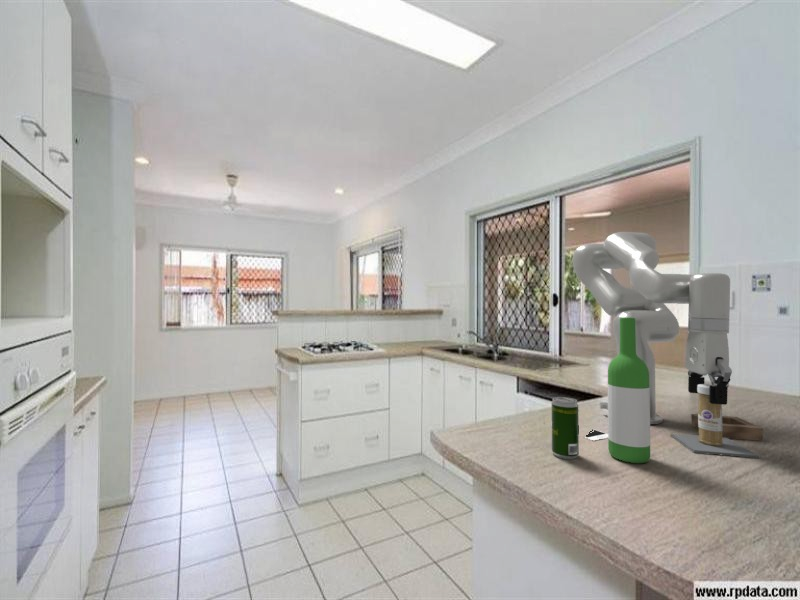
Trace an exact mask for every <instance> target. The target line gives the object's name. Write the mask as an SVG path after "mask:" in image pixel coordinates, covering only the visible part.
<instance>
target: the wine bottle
mask: <svg viewBox="0 0 800 600" xmlns="http://www.w3.org/2000/svg"><path fill="white" fill-rule="evenodd" d="M607 403H608V410H607V434H608V439H607V441H608V442H607V443H608V446H607V447H608V452H609V454H610V456H611V457H612V458H614V459H616V460H618V459H619V461H621V460H622V461H621V462H625V463H629V462H631V463H630V464H644V463H645V464H646V463H647V462H649V461H650V459H651V424H650V387H649V370H648V368H647V366H646V364H645V363H644V361H643V360H642V359H640V358H639V357H638V356H637V355H636V332H635V318H620V353H619V355H618V356H617V355H616V356H615V357H613V359H611V361H610V362H609V365H608V368H607Z"/></svg>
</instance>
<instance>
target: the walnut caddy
mask: <svg viewBox="0 0 800 600" xmlns="http://www.w3.org/2000/svg"><path fill="white" fill-rule="evenodd" d="M690 415H691V416H690V417H691V426H693V427H694V428H696V429H698V430H699V427H698V413H691V414H690ZM763 436H764V434H763V428H762V427H760V426H758V425H756V424H754V423H751V422H749V421H747V420H745V419H743V418H740V417H738V416H731V415H729V416H728V415H722V437H726V438H728V439H733V438H734V439H735V440H747V441H763V440H764V439H763Z"/></svg>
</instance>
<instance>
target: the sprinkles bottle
mask: <svg viewBox="0 0 800 600" xmlns="http://www.w3.org/2000/svg"><path fill="white" fill-rule="evenodd" d="M710 385H711V384H708V383H707V384H705V383H704V384H699V385H698V386H697V392H698V393H697V394H698V401H697V402H698V403H697V404H698V413H697V414H698V427H699V429H698V435H699V438H698V440H699V441H700V442H702V443H704V444H708V445H713V446H721V445H723V442H722V416H723V406H722V405H723V404H712V403H710V402H709V386H710Z"/></svg>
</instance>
